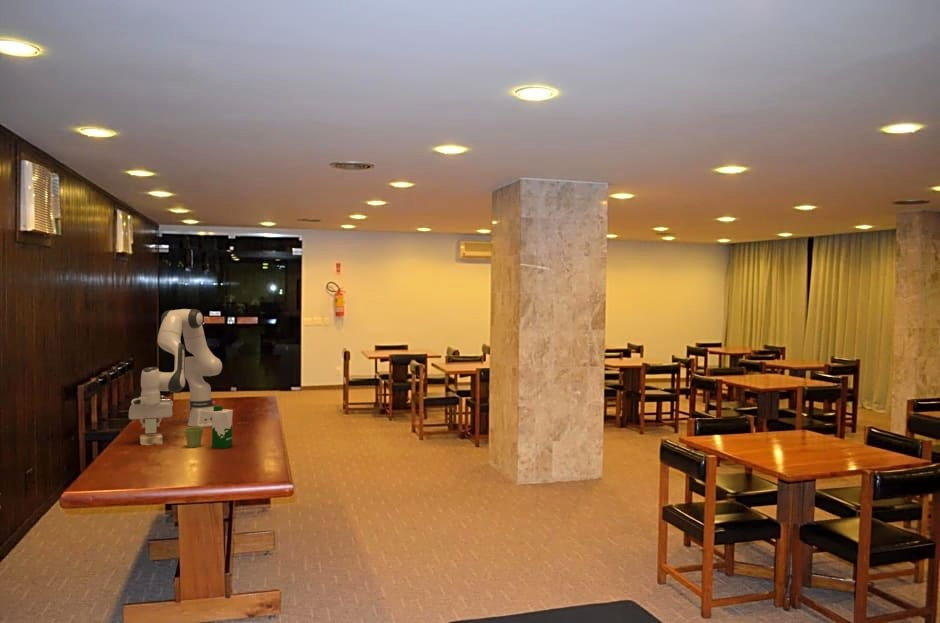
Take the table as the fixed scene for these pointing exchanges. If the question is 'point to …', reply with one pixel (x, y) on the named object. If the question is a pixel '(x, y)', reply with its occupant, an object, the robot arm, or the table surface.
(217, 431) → the milk carton
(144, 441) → the birch block
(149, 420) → the sage block
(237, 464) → the table surface
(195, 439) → the plant pot
